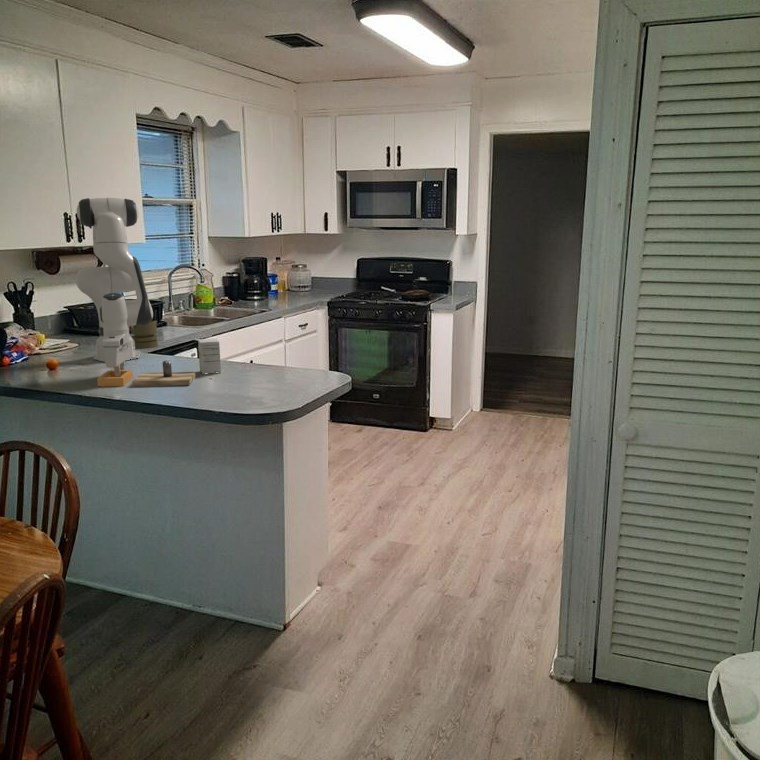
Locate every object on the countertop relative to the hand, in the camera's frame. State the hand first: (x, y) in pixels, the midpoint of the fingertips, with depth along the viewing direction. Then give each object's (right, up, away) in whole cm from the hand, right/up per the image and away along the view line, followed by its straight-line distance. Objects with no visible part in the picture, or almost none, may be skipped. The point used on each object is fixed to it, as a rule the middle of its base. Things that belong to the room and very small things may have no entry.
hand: (120, 374), depth 266 cm
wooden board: (+18, -3, -5) cm, 19 cm away
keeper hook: (+20, -1, -6) cm, 20 cm away
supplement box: (+31, +1, +11) cm, 33 cm away
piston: (-12, +13, +65) cm, 68 cm away
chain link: (0, -3, -5) cm, 6 cm away
